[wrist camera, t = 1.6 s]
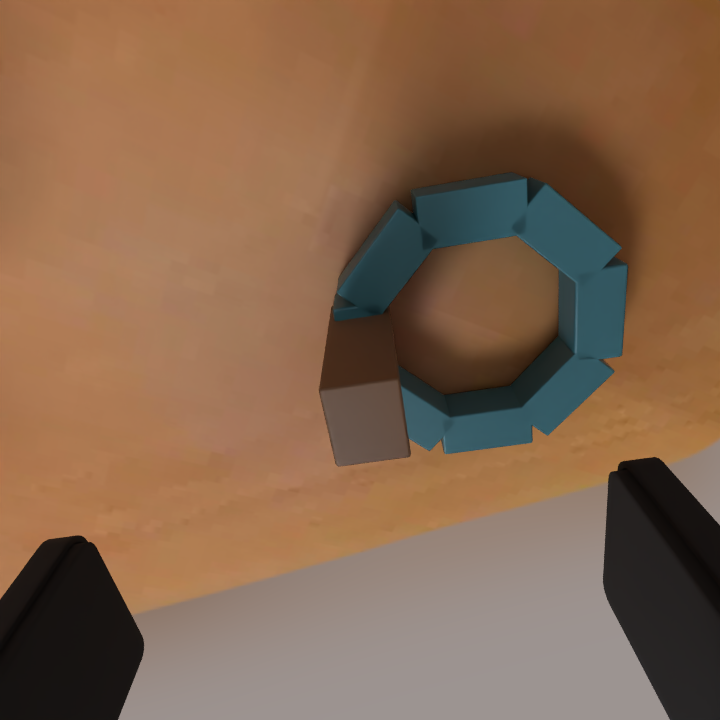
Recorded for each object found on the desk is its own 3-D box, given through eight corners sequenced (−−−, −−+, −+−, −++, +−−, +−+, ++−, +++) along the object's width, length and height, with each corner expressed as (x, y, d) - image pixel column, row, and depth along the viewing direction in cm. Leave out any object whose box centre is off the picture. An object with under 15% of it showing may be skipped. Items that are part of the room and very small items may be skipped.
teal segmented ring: (611, 154, 16) (742, 177, 10) (599, 408, 20) (690, 521, 14) (311, 206, 16) (286, 253, 11) (358, 441, 20) (357, 560, 15)
